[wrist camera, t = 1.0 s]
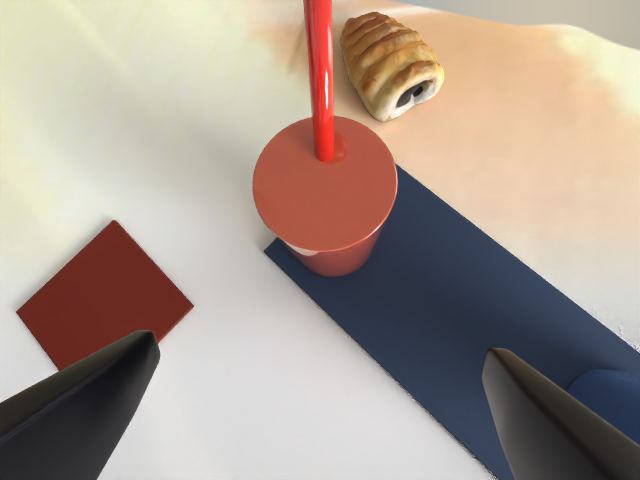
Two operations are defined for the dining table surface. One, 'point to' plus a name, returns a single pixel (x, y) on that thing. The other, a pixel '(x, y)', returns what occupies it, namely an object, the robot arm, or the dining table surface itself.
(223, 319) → the dining table surface
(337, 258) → the red spoon pot
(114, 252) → the red mat
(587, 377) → the blue spoon pot
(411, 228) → the blue mat
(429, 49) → the pastry
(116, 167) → the dining table surface
